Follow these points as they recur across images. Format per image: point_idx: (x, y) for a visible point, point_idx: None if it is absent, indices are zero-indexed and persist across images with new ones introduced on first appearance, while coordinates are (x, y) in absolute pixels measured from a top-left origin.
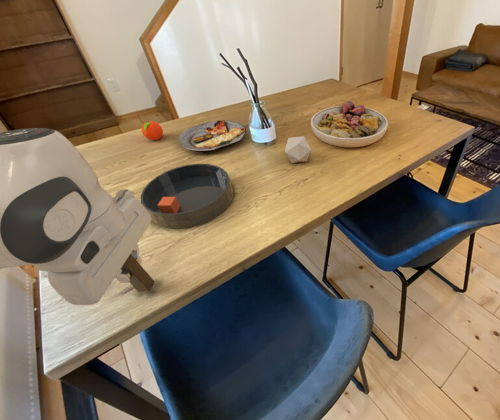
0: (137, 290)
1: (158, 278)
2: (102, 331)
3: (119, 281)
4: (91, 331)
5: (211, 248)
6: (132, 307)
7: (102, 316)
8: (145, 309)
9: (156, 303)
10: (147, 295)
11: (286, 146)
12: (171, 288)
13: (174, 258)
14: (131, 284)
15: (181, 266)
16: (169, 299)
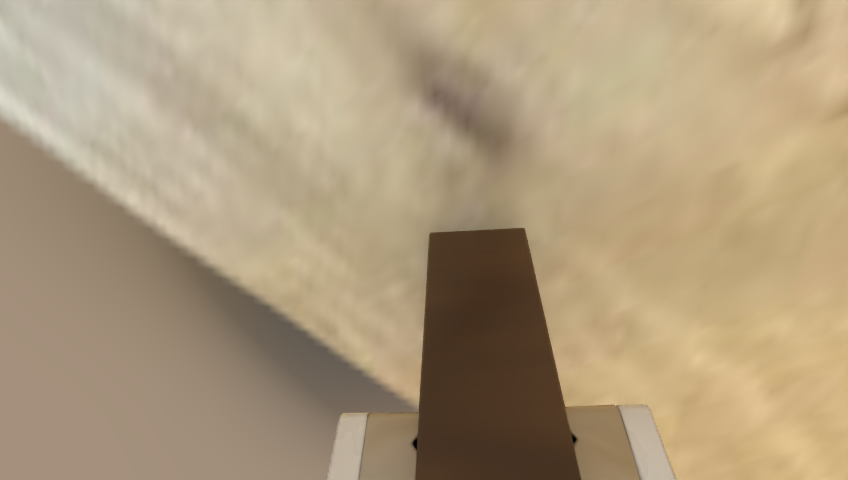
0: (429, 243)
1: (570, 273)
2: (94, 120)
3: (336, 430)
4: (57, 32)
5: (796, 464)
6: (315, 220)
7: (190, 35)
8: (319, 302)
9: (370, 341)
10: (421, 267)
11: None
12: None
13: (761, 300)
14: (426, 296)
15: (666, 365)
16: (406, 390)
